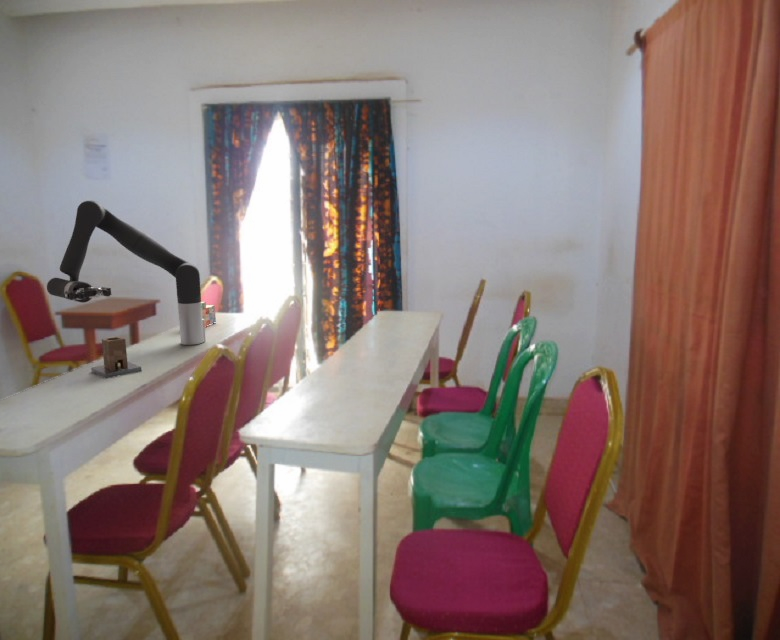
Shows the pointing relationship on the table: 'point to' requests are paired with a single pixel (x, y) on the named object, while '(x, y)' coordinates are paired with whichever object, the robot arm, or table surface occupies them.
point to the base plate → (116, 370)
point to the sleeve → (114, 352)
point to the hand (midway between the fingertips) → (96, 294)
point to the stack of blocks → (208, 313)
